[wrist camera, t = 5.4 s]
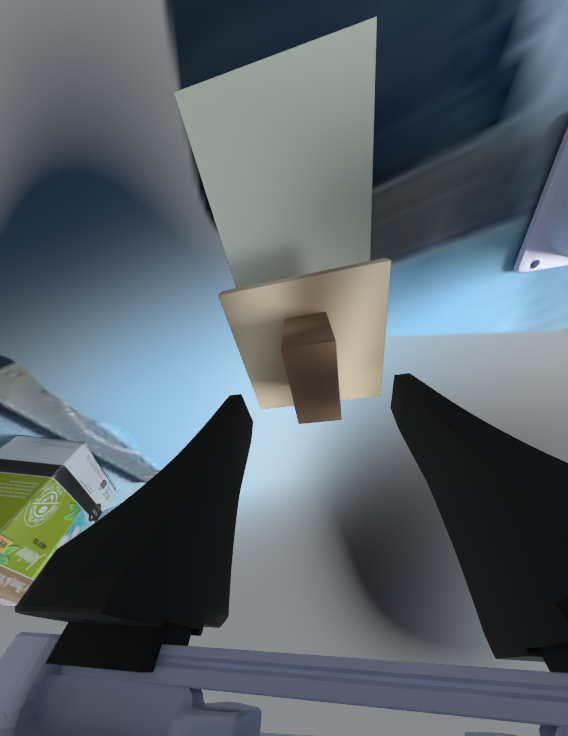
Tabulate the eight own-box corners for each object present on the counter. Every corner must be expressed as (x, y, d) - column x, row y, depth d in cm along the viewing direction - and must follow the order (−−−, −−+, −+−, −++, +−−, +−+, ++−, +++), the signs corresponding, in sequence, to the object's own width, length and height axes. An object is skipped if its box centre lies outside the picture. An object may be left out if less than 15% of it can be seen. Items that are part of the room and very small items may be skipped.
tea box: (120, 489, 39) (42, 610, 27) (64, 483, 39) (-40, 602, 27) (87, 440, 30) (-50, 586, 18) (15, 432, 30) (-173, 575, 18)
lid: (385, 257, 11) (428, 275, 7) (377, 388, 16) (400, 436, 12) (222, 291, 12) (192, 320, 9) (262, 402, 17) (253, 448, 14)
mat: (372, 26, 10) (376, 16, 9) (367, 260, 15) (369, 262, 15) (179, 98, 11) (173, 92, 11) (238, 287, 17) (236, 289, 16)
